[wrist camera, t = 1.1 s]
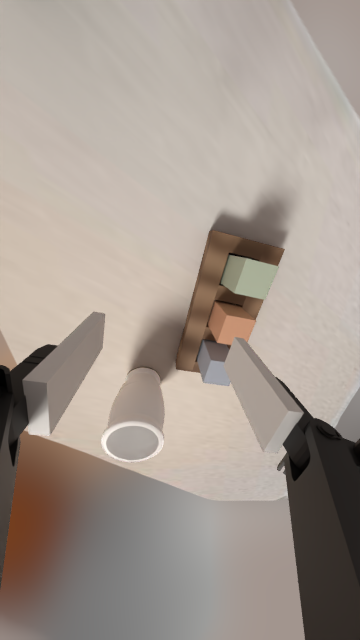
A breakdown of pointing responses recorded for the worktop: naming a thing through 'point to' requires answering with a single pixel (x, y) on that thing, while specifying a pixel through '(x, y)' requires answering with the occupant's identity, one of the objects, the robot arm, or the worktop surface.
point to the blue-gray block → (213, 362)
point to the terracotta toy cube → (230, 323)
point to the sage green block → (248, 277)
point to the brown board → (218, 291)
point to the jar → (136, 418)
